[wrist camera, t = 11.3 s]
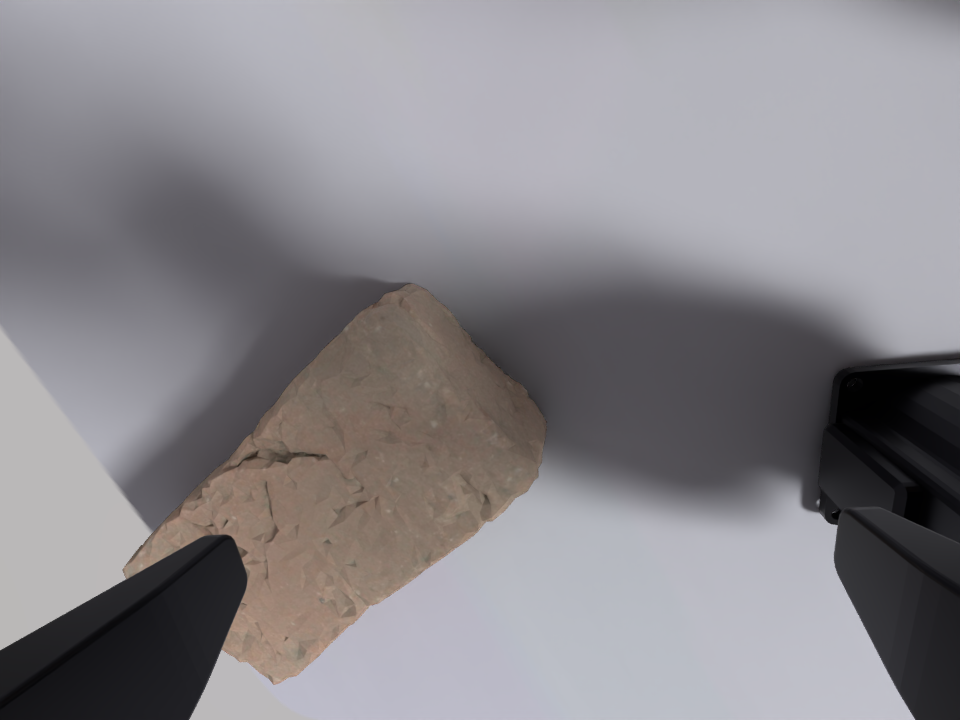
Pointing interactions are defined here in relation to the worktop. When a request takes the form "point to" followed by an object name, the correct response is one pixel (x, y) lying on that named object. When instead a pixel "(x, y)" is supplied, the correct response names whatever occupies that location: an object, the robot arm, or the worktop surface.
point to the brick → (360, 478)
